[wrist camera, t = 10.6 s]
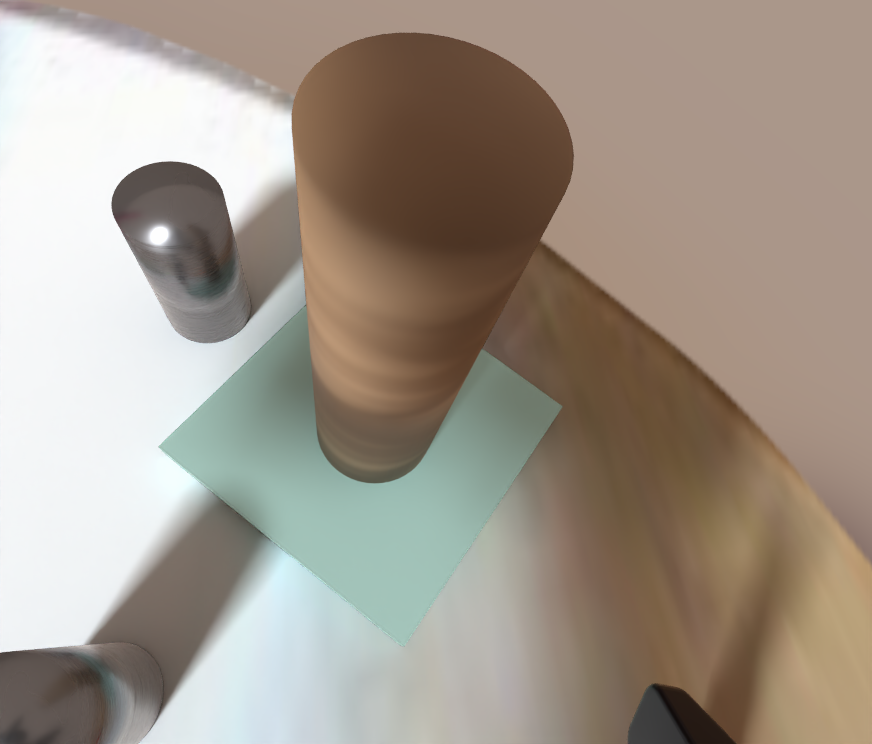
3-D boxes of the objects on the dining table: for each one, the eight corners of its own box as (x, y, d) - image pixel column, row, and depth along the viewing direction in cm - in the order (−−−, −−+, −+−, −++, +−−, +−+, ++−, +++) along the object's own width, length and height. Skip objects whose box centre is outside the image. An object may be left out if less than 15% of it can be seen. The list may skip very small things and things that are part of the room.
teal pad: (400, 645, 18) (403, 646, 17) (166, 455, 19) (158, 446, 18) (553, 415, 22) (562, 406, 21) (354, 271, 23) (355, 257, 22)
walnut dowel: (342, 502, 18) (359, 281, 7) (300, 396, 20) (251, 53, 8) (450, 456, 20) (624, 203, 8) (404, 360, 21) (494, 17, 9)
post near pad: (210, 358, 21) (167, 263, 15) (150, 311, 21) (87, 202, 16) (267, 305, 22) (246, 200, 16) (209, 261, 22) (171, 145, 17)
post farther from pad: (101, 789, 15) (-26, 882, 10) (22, 716, 15) (-144, 766, 10) (186, 685, 16) (115, 716, 11) (111, 620, 17) (7, 618, 11)
